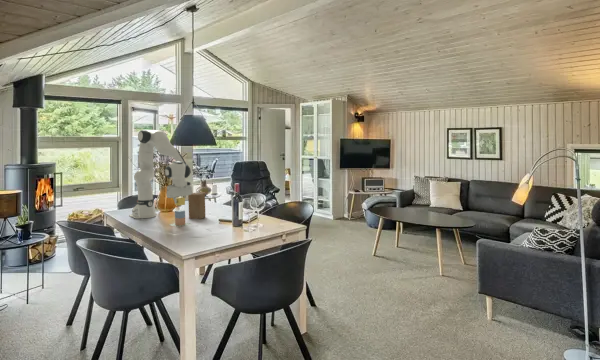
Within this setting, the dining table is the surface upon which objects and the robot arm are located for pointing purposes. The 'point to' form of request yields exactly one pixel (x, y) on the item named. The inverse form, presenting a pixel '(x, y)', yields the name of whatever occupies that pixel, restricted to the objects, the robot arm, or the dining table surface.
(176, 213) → the brick slate
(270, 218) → the dining table surface
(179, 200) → the brick mustard
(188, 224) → the build plate
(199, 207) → the block
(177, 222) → the brick terracotta
